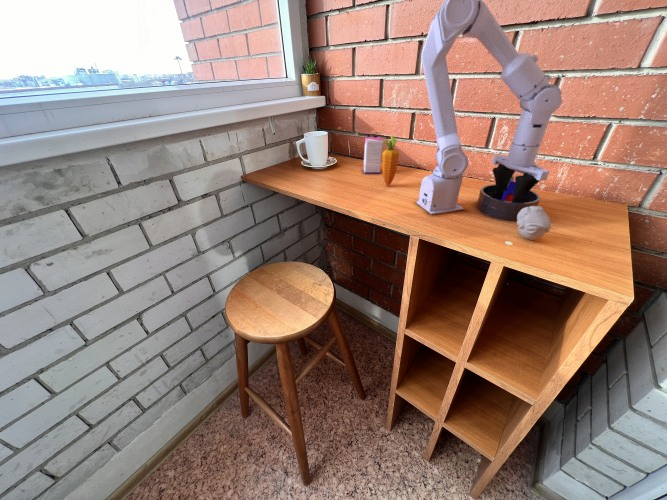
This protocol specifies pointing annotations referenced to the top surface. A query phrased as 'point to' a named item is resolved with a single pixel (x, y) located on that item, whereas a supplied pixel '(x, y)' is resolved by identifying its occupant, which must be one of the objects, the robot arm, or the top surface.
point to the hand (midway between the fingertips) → (507, 199)
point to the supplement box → (372, 155)
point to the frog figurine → (533, 222)
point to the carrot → (389, 161)
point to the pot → (503, 204)
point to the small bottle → (509, 192)
